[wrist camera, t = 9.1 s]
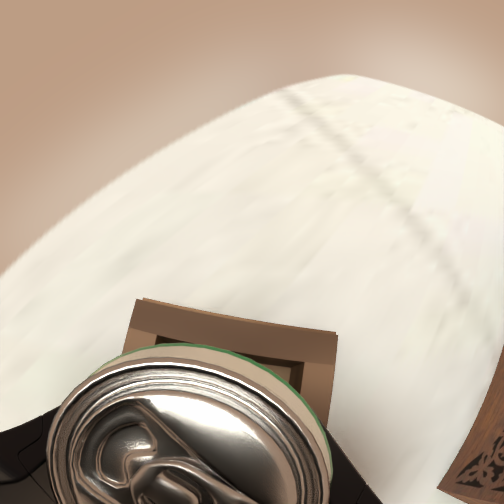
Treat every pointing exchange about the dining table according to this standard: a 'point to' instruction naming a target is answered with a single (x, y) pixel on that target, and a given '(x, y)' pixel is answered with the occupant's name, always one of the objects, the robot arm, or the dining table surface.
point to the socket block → (245, 345)
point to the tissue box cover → (481, 452)
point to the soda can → (187, 433)
